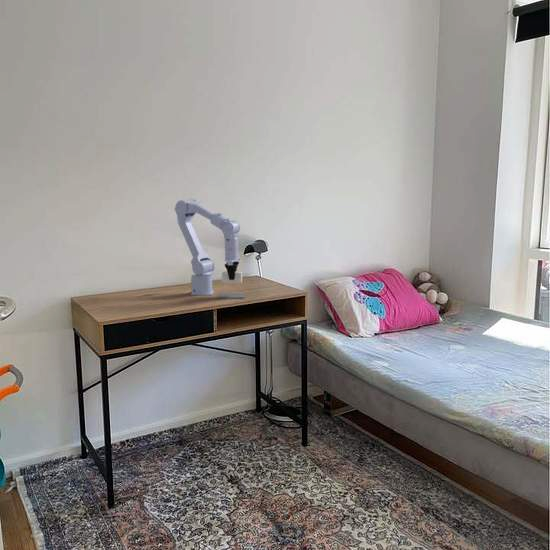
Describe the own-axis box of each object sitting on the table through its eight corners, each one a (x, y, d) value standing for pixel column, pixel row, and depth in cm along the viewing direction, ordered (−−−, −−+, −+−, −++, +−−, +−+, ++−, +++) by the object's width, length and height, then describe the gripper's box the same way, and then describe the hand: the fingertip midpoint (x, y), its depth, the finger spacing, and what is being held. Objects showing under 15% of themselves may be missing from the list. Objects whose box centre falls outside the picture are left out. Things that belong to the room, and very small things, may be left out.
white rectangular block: (241, 282, 243) (241, 272, 242) (222, 283, 243) (221, 273, 242) (242, 281, 246) (241, 271, 246) (223, 281, 247) (223, 271, 246)
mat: (217, 298, 242) (217, 297, 242) (219, 294, 251) (219, 293, 250) (244, 298, 241) (244, 297, 241) (245, 293, 250) (245, 293, 250)
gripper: (238, 250, 235) (239, 281, 237) (242, 246, 249) (242, 275, 251) (222, 251, 235) (223, 281, 237) (226, 246, 249) (227, 275, 252)
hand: (232, 278), depth 244 cm, fingers closed on white rectangular block, 4 cm apart
